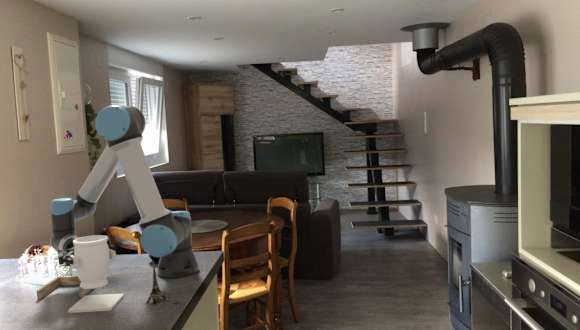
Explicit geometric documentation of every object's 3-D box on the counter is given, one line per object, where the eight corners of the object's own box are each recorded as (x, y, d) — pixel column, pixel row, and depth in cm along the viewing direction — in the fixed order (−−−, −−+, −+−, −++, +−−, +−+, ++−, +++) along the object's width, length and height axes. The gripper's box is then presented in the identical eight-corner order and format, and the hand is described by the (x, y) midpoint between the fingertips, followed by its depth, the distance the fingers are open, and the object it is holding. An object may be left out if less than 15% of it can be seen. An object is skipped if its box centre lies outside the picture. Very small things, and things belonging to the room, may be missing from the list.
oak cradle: (99, 282, 184) (98, 274, 183) (82, 297, 169) (82, 288, 168) (58, 284, 184) (57, 276, 183) (37, 299, 169) (36, 290, 168)
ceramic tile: (124, 295, 168) (124, 293, 168) (110, 310, 155) (110, 308, 155) (85, 297, 168) (85, 295, 168) (68, 312, 155) (67, 310, 155)
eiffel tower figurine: (181, 306, 158) (178, 263, 157) (149, 314, 153) (145, 270, 151) (166, 292, 171) (163, 253, 169) (136, 299, 166) (132, 259, 164)
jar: (99, 291, 155) (96, 242, 154) (69, 290, 157) (65, 242, 156) (117, 280, 165) (114, 234, 164) (89, 279, 167) (85, 234, 166)
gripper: (108, 251, 182) (133, 263, 165) (38, 265, 167) (58, 280, 150) (106, 230, 181) (131, 240, 164) (36, 242, 166) (56, 255, 149)
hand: (96, 259), depth 157 cm, fingers closed on jar, 10 cm apart
